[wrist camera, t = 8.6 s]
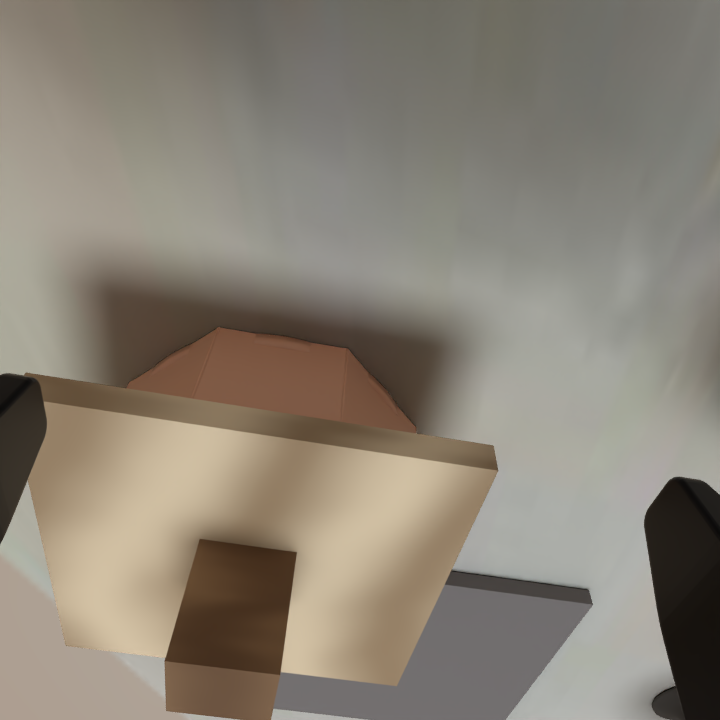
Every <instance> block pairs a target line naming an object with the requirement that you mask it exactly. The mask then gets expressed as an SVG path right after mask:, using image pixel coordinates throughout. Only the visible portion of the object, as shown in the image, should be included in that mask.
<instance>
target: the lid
mask: <svg viewBox="0 0 720 720" xmlns="http://www.w3.org/2000/svg"><path fill="white" fill-rule="evenodd" d="M24 376H30V377H34V378H36V379H37V380H38V381H39V383H40V386H41V391H42V396H43V401H44V407H45V412H46V417H47V431H46V435H45V438H44V441H43V443H42V446H41V448H40V451H39V453H38V456H37V458H36V461H35V463H34V466H33V468H32V470H31V473H30V475H29V478H28V483H29V487H30V491H31V496H32V500H33V504H34V509H35V513H36V518H37V522H38V526H39V531H40V535H41V540H42V544H43V548H44V553H45V557H46V561H47V566H48V570H49V575H50V579H51V583H52V588H53V592H54V596H55V601H56V605H57V610H58V614H59V618H60V623H61V627H62V631H63V636H64V640H65V645H66V646H72V647H80V648H88V649H96V650H104V651H112V652H121V653H129V654H137V655H145V656H153V657H162V658H165V689H166V711H171V712H179V713H188V714H197V715H206V716H214V717H223V718H232V719H240V720H271V716H272V712H273V707H274V702H275V698H276V693H277V688H278V683H279V679H280V673H281V672H285V673H293V674H301V675H309V676H318V677H326V678H334V679H342V680H350V681H359V682H367V683H375V684H383V685H391V686H397V684H398V682H399V680H400V678H401V676H402V674H403V672H404V670H405V668H406V665H407V663H408V661H409V659H410V657H411V655H412V653H413V651H414V648H415V646H416V644H417V642H418V640H419V638H420V636H421V634H422V631H423V629H424V627H425V625H426V623H427V621H428V619H429V617H430V614H431V612H432V610H433V608H434V606H435V604H436V602H437V600H438V597H439V595H440V593H441V591H442V589H443V587H444V585H445V583H446V581H447V578H448V576H449V574H450V572H451V570H452V568H453V566H454V564H455V561H456V559H457V557H458V555H459V553H460V551H461V549H462V547H463V544H464V542H465V540H466V538H467V536H468V534H469V532H470V530H471V527H472V525H473V523H474V521H475V519H476V517H477V515H478V513H479V510H480V508H481V506H482V504H483V502H484V500H485V498H486V496H487V493H488V491H489V489H490V487H491V485H492V483H493V481H494V479H495V477H496V474H497V472H498V467H497V462H496V456H495V451H494V446H493V445H487V444H480V443H474V442H467V441H461V440H455V439H448V438H442V437H435V436H429V435H423V434H416V433H410V432H403V431H397V430H390V429H384V428H378V427H371V426H365V425H358V424H352V423H346V422H339V421H333V420H326V419H320V418H314V417H307V416H301V415H294V414H288V413H281V412H275V411H269V410H262V409H256V408H249V407H243V406H237V405H230V404H224V403H217V402H211V401H205V400H198V399H192V398H185V397H179V396H172V395H166V394H160V393H153V392H147V391H140V390H134V389H128V388H121V387H115V386H108V385H102V384H96V383H89V382H83V381H76V380H70V379H63V378H57V377H51V376H44V375H38V374H31V373H25V375H24Z"/></svg>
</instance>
